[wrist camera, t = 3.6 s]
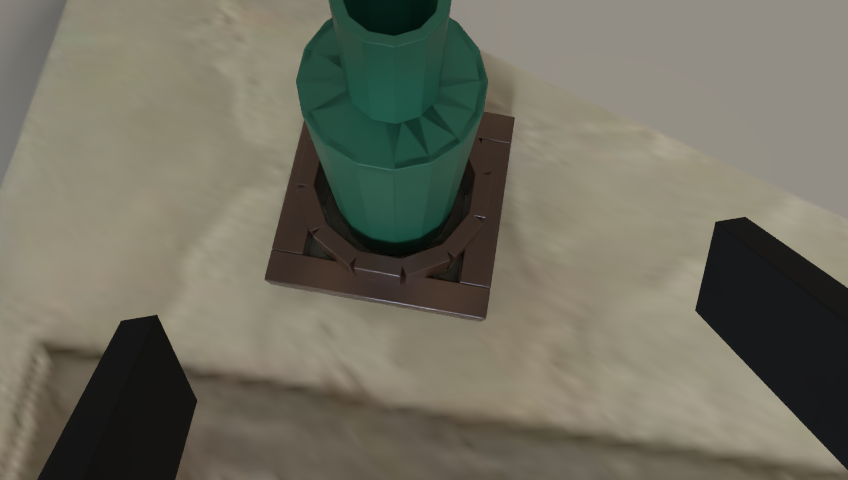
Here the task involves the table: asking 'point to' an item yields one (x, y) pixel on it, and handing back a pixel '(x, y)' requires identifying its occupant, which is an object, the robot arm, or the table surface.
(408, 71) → the bottle
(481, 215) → the holder
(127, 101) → the table surface
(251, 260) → the table surface
